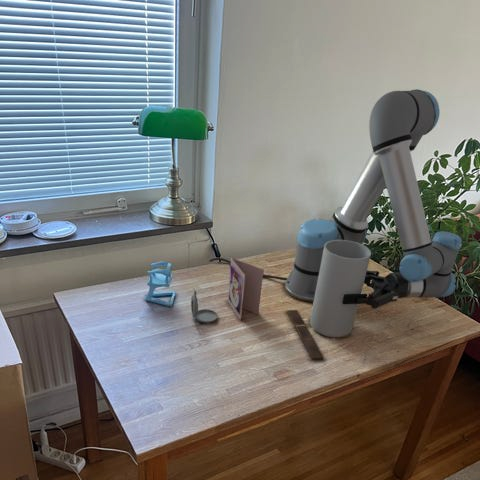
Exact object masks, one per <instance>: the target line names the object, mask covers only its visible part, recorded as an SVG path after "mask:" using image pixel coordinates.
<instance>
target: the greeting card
mask: <svg viewBox="0 0 480 480" xmlns="http://www.w3.org/2000/svg"><path fill="white" fill-rule="evenodd" d="M230 261H231V264H230V263H228V264H229V277H228V278H229V279H228V289H227V291H228V292H227V303H228V304H229V306H230V307H231V309H232V310H233V312H234V313H235V315H236V316H237V317H238V319H239V320H240V321H242V311H243V309H245V310H247V311H250V312H252V313H254V314H258V315H259V313H260V305H261V303H260V302H261V294H262V287H263V279H264V277H263V275H264V271H265V270H264V269H263V268H260V267H258V266H255V265H253V264H250V263H247V262H245V261H241V260H238V259H236V258H233V257H230Z"/></svg>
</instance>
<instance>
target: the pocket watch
mask: <svg viewBox="0 0 480 480" xmlns="http://www.w3.org/2000/svg"><path fill="white" fill-rule="evenodd" d="M193 290H194V292H193V294H192V295H191V298H190V308H191V314H192V318H194V319H195V320H196V321H197V322H200V323H202V324H203V323H204V324H210V323H213V322H216V320H217V319H218V313H217V311H214V310H212V309H207V308H203V309H199V301H198V297H197V291H196V290H195V287H193Z"/></svg>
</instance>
